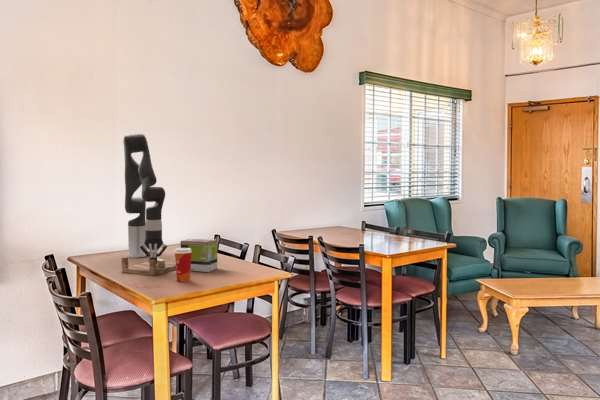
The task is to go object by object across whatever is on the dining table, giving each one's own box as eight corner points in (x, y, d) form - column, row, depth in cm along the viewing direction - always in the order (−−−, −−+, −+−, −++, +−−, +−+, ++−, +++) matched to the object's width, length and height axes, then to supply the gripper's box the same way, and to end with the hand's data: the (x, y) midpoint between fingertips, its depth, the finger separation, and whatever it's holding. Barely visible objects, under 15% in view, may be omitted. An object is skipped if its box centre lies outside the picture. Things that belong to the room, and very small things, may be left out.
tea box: (218, 268, 237) (217, 238, 236) (207, 272, 228) (207, 241, 227) (191, 266, 242) (191, 237, 241) (180, 270, 233) (179, 240, 232)
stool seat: (151, 264, 246) (151, 251, 246) (181, 267, 238) (181, 253, 238) (122, 272, 228) (121, 257, 228) (153, 276, 220) (152, 260, 220)
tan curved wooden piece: (150, 262, 241) (149, 255, 240) (154, 262, 242) (154, 254, 242) (159, 267, 228) (159, 259, 228) (164, 267, 230) (164, 259, 229)
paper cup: (176, 278, 215) (175, 247, 214) (193, 278, 216) (193, 247, 215) (172, 282, 207) (172, 250, 206) (191, 282, 208) (190, 250, 207)
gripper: (169, 227, 232) (169, 263, 234) (141, 227, 231) (141, 263, 232) (166, 230, 225) (166, 266, 226) (137, 229, 224) (137, 266, 225)
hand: (153, 265), depth 229 cm, fingers closed
